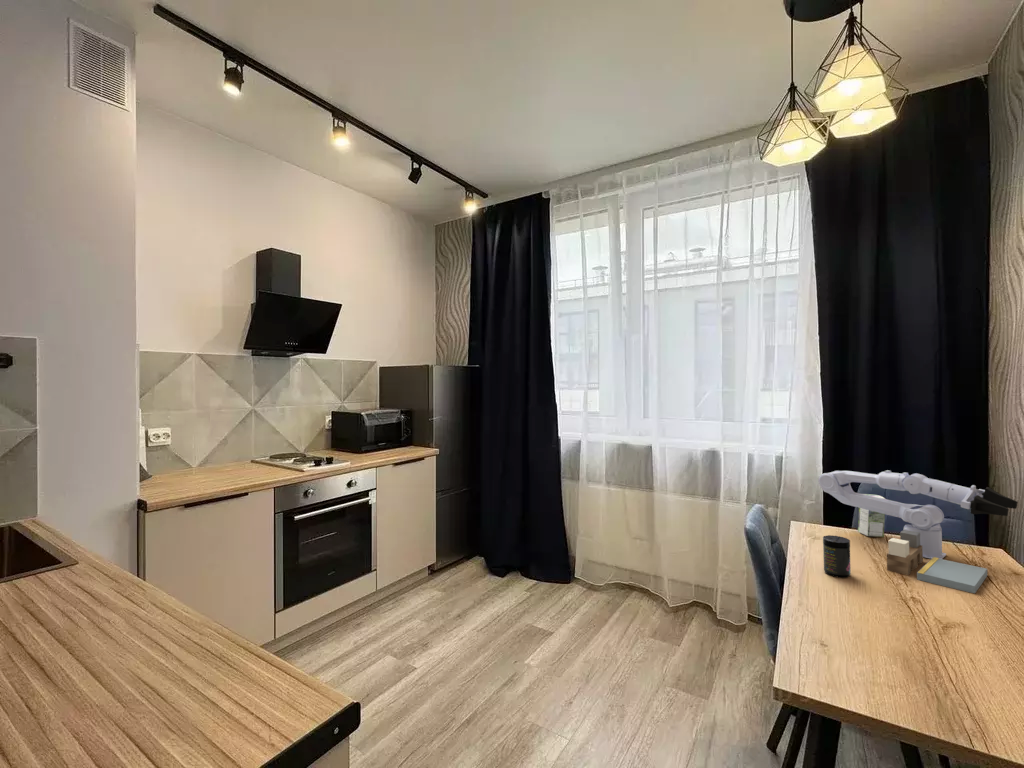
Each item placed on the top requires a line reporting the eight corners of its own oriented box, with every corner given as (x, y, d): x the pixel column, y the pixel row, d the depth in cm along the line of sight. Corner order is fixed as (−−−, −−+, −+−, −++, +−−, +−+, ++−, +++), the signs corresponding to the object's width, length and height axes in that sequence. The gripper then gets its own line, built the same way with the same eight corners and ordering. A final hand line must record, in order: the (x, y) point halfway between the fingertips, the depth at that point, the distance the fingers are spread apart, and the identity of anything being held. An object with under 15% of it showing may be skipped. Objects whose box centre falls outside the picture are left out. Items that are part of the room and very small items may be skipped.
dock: (917, 579, 136) (916, 572, 136) (933, 563, 147) (933, 556, 147) (974, 593, 126) (974, 585, 126) (987, 575, 137) (987, 568, 137)
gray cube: (900, 544, 150) (900, 532, 150) (904, 542, 153) (903, 529, 153) (916, 548, 147) (916, 535, 147) (920, 545, 149) (919, 532, 149)
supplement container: (848, 580, 137) (847, 544, 137) (820, 574, 142) (819, 539, 142) (853, 573, 141) (852, 538, 141) (826, 567, 146) (826, 533, 146)
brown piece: (887, 570, 143) (886, 553, 143) (902, 557, 153) (902, 541, 153) (908, 575, 139) (907, 558, 139) (922, 561, 149) (922, 545, 149)
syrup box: (873, 532, 177) (874, 493, 177) (884, 537, 171) (885, 497, 171) (857, 531, 178) (858, 493, 178) (867, 536, 172) (868, 496, 172)
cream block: (888, 554, 143) (888, 540, 143) (892, 550, 145) (892, 537, 145) (905, 557, 140) (905, 544, 140) (909, 554, 142) (909, 541, 142)
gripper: (943, 486, 144) (1005, 502, 133) (962, 475, 151) (1022, 489, 140) (940, 508, 146) (1001, 525, 134) (959, 495, 153) (1019, 511, 141)
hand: (1012, 508), depth 137 cm, fingers open, 7 cm apart
